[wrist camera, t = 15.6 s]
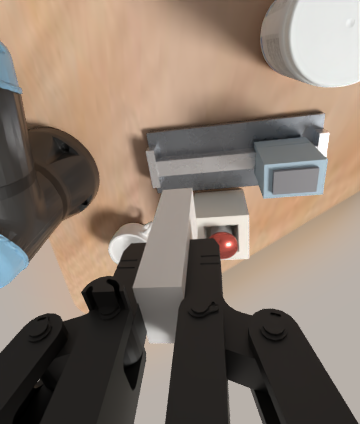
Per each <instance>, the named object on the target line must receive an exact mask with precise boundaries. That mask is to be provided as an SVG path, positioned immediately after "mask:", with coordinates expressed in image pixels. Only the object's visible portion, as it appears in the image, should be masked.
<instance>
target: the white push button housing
mask: <svg viewBox="0 0 360 424" xmlns="http://www.w3.org/2000/svg"><path fill="white" fill-rule="evenodd" d="M194 206H195V214H196V222H197V231H198V236H197V239H206V238H209V237H210V236H211V226H222V225H231V230H232V235H233V236H234V237H235V238H236V240H237V244H238V250H237V252H236V253H235V255H233V256H232V257H230V258H227V259H220V260H231V259H249V213H248V209H247V204H246V200H245V196H244V192H243V189H240V190H227V191H214V192H201V193H195V194H194Z"/></svg>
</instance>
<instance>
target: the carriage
mask: <svg viewBox="0 0 360 424" xmlns="http://www.w3.org/2000/svg"><path fill="white" fill-rule="evenodd" d="M254 148H255V151H256V168H254V173H255V176H256V179H257V181H258V184H259V187H260V190H261V193H262V196H263V198H278V197H292V196H306V195H319V194H323V189H324V183H325V176H326V169H327V162H328V159H327V158H326V157H325V156H324V155H323V154H322V153H321V152H320V151H319V150H318V149H317V148H316V147H315V146H314V145H313V144H312V143H311V142H310V141H309V140H308V139H307V138H306V137H299V138H289V139H279V140H269V141H259V142H254Z"/></svg>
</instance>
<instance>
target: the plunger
mask: <svg viewBox="0 0 360 424" xmlns="http://www.w3.org/2000/svg"><path fill="white" fill-rule="evenodd" d="M209 238H214V239H215V240H216V242H217V243H218V244H219V246H220V259H227V258H230V257H232V256H233V255H235V253H236V252H237V250H238V244H237V240H236V238H235V237H234V236H233V235H232V230H231V225H222V226H211V236H210V237H209Z"/></svg>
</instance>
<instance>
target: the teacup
mask: <svg viewBox="0 0 360 424" xmlns="http://www.w3.org/2000/svg"><path fill="white" fill-rule="evenodd" d="M152 223H153V222H152V221H151V222H149V223H147V224H145V225H142V224H139V223H128V224H125V225H123V226H121V227H120V228H119V229H118V231H117V232H116V233H115V234H114V236H113V237H112V239H111V241H110V243H109V249H108V250H109V255H110V257H111V259H112V260H113V261H114V262H115V263H116V264H119V262H120V259H121V256H122V254H123V251H124V250H125V249H126V248H127V247H128V246H129V245H130V244H131V243H146V242H147V239H148V236H149V233H150V230H151V226H152Z"/></svg>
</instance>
